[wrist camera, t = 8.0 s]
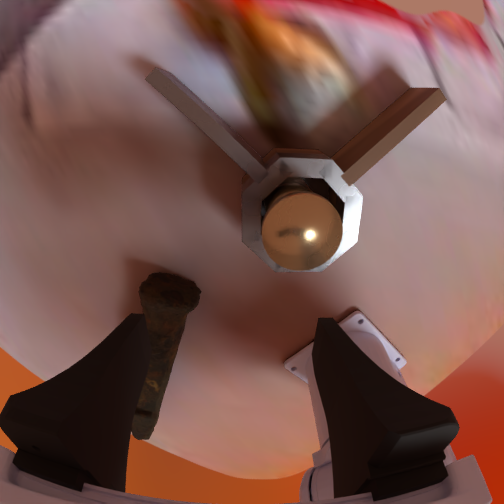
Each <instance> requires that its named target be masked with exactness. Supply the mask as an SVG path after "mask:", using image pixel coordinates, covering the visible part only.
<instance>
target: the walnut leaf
mask: <svg viewBox="0 0 504 504" xmlns="http://www.w3.org/2000/svg"><path fill="white" fill-rule="evenodd" d="M446 100H447V99H446V98H445V96H444V95H443V93H442V91H441V90H440V88H410V89H409V90H408V91H407V92H405V93H404V94H403V95H402V96H401V97H400V98H398V99H397V100H396V101H395V102H394V103H393V104H392V105H390V106H389V107H388V108H387V109H386V110H385V111H384V112H382V113H381V114H380V115H379V116H378V117H377V118H375V119H374V120H373V121H372V122H371V123H370V124H369V125H368V126H366V127H365V128H364V129H363V130H362V131H361V132H360V133H358V134H357V135H356V136H355V137H354V138H353V139H352V140H350V141H349V142H348V143H347V144H346V145H345V146H344V147H343V148H341V149H340V150H339V151H338V152H337V153H336V154H335V155H334V156H332V157H331V159H332V160H333V161H334V162H335V163H336V164H337V166H338V167H339V168H340V169H341V170H342V171H343V174H342V175H341V178H342V179H343V180H344V181H345V182H346V183H347V185H348V186H349V187H350V186H351V185H352V184H353V183H355V182H356V181H357V180H358V179H359V178H360V177H361V176H362V175H364V174H365V173H366V172H367V171H368V170H369V169H370V168H371V167H373V166H374V165H375V164H376V163H377V162H378V161H379V160H380V159H382V158H383V157H384V156H385V155H386V154H387V153H388V152H389V151H390V150H392V149H393V148H394V147H395V146H396V145H397V144H398V143H399V142H400V141H402V140H403V139H404V138H405V137H406V136H407V135H408V134H409V133H410V132H412V131H413V130H414V129H415V128H416V127H417V126H418V125H419V124H420V123H421V122H423V121H424V120H425V119H426V118H427V117H428V116H429V115H430V114H431V113H432V112H434V111H435V110H436V109H437V108H438V107H439V106H440V105H441V104H442V103H443V102H444V101H446ZM277 152H284V153H310V154H323V153H322V152H321V151H319V150H314V149H291V148H274V149H272V150H271V151H270V152H269V153H268V154H267V155H266V156H265V157H264V158H263V161H264V164H265V163H266V162H267V161H268V160H269V159H270V158H271V157H272V156H273V155H274V154H276V153H277ZM249 178H250V176H249V175H248V174H246V175H245V176H244V177H243V178H242V185H243V184H244V183H245V182H246V181H247V180H248V179H249ZM322 179H323V178H322ZM323 180H324V179H323ZM324 181H325V180H324ZM325 182H326V181H325ZM326 183H327V182H326ZM336 195H337V194H336V193H335V192H334V190H333V189H332V188H331V187H330V186H329V196H328V201H329V202H330V203H331V204H332V205H333V207H334V208H335V205H336ZM262 221H263V217H262V216H261V225H262Z"/></svg>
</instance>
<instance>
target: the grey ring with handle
mask: <svg viewBox="0 0 504 504" xmlns="http://www.w3.org/2000/svg"><path fill="white" fill-rule="evenodd" d="M145 80H146V81H147V82H148V83H150V84H151V85H152V86H153V87H154V88H155V89H157V90H158V91H159V92H160V93H161V94H162V95H163V96H164V97H166V98H167V99H168V100H169V101H170V102H171V103H172V104H173V105H175V106H176V107H177V108H178V109H179V110H180V111H181V112H182V113H183V114H185V115H186V116H187V117H188V118H189V119H190V120H191V121H192V122H193V123H194V124H196V125H197V126H198V127H199V128H200V129H201V130H202V131H203V132H204V133H205V134H206V135H207V136H208V137H210V138H211V139H212V140H213V141H214V142H215V143H216V144H217V145H218V146H219V147H220V148H221V149H222V150H223V151H224V152H226V153H227V154H228V155H229V156H230V157H231V158H232V159H233V160H234V161H235V162H236V163H237V164H238V165H239V166H240V167H241V168H242V169H243V170H244V171H245V172H246V173H247V174H248V175H249V176H250V178H249V179H248V180H247V181H246V182H245V183H244V184H243V185H242V242H243V243H244V244H245V245H246V246H247V247H248V248H250V249H251V250H252V251H253V252H254V253H255V254H256V255H257V256H258V257H259V258H261V259H262V260H263V261H264V262H265V263H266V264H267V265H268V266H269V267H270V268H272V269H273V270H274V271H275V272H322V271H323V270H324V269H325V268H326V267H328V266H329V265H330V264H331V263H332V262H334V261H335V260H336V259H337V258H338V257H340V256H341V255H342V254H343V253H344V252H346V251H347V250H348V249H349V248H350V247H351V246H353V245H354V244H355V243H356V242H357V238H358V231H359V224H360V217H361V209H362V201H363V196H362V195H361V193H360V192H359V191H358V190H357V188H356V187H355V186H354V185H353V184H352V185H351V186H350V187H349V186H348V185H347V183H346V182H345V181H344V180H343V179H342V178H341V175H342V174H343V171H342V170H341V169H340V168H339V167H338V166H337V164H336V163H335V162H334V161H333V160H332V159H331V158H329V157H328V156H326V155H325V154H310V153H284V152H277V153H276V154H274V155H273V156H272V157H271V158H270V159H269V160H268V161H267V162H266V163H265V164H264V161H263V158H262V157H261V156H260V155H259V154H258V153H257V152H256V151H255V150H254V149H253V148H252V147H251V146H250V145H249V144H247V143H246V142H245V141H244V140H243V139H242V138H241V137H240V136H239V135H238V134H237V133H236V132H235V131H234V130H233V129H232V128H231V127H230V126H229V125H228V124H227V123H226V122H225V121H223V120H222V119H221V118H220V117H219V116H218V115H217V114H216V113H215V112H214V111H213V110H212V109H211V108H210V107H208V106H207V105H206V104H205V103H204V102H203V101H202V100H201V99H200V98H199V97H197V96H196V95H195V94H194V93H193V92H192V91H191V90H190V89H189V88H187V87H186V86H185V85H184V84H183V83H182V82H181V81H179V80H178V79H177V78H176V77H175V76H174V75H173V74H171V73H169V72H167V71H164V70H161V69H159V68H156V67H155V69H154V70H153V71H152V72H151V73H150V74H149V75H148V76H147V77H146V78H145ZM287 177H306V178H323V179H324V180H325V181H326V182H327V184H328V185H329V186H330V187H331V188H332V189H333V190H334V192H335V193H336V194H337V195H336V205H335V209H336V210H337V212H338V214H339V215H340V218H341V221H342V226H343V235H342V240H341V243H340V246H339V248H338V249H337V251H336V253H335V254H334V255H333V256H332V257H331V258H330V259H329V260H328V261H327V262H325V263H324V264H322V265H321V266H319V267H316V268H314V269H310V270H304V271H295V270H290V269H286V268H284V267H282V266H280V265H278V264H277V263H275V262H274V261H273V260H272V259H271V258H270V257H269V255H268V254H267V252H266V250H265V248H264V245H263V241H262V233H261V228H262V225H261V201H262V200H263V199H264V198H265V197H266V196H268V195H269V194H270V193H271V192H272V191H273V190H274V189H275V188H276V187H277V186H278V185H279V184H281V183H282V182H283V181H284V180H285V179H286V178H287Z"/></svg>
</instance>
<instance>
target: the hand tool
mask: <svg viewBox="0 0 504 504" xmlns="http://www.w3.org/2000/svg"><path fill="white" fill-rule="evenodd" d="M138 292H139V295H140V299H141V305H142V307H143V314H145V319H146V324H147V329H148V334H149V339H150V344H151V348H152V352H151V358H150V363H149V368H148V372H147V376H146V379H145V382H144V385H143V388H142V391H141V394H140V397H139V401H138V404H137V407H136V410H135V414H134V418H133V423H132V428H131V432H132V435H133V436H134V437H135V438H136V439H138V440H142V439H143V440H146V439H148V440H149V438H150V436H151V434H152V432H153V431H154V427H155V425H156V423H157V421H158V417H159V412H160V407H161V403H162V400H163V396H164V393H165V390H166V387H167V384H168V381H169V377H170V374H171V371H172V366H173V363H174V360H175V357H176V354H177V351H178V346H179V343H180V340H181V337H182V334H183V331H184V327H185V322H186V317H187V314H188V313H189V312H191V311H192V310H194V308H195V307H196V306H197V305H198V303H199V299H200V293H201V290H200V289H199V288H198V287H197V286H196V284H195V283H194V282H192V281H190V280H186V279H183V278H181V277H179V276H176V275H172V274H168V273H160V272H159V273H152V274H151V275H149V277H148V279H147V280H146V281H144V282H143V283H142V284H141V286H140V287H139V291H138Z"/></svg>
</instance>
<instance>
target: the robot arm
mask: <svg viewBox="0 0 504 504" xmlns="http://www.w3.org/2000/svg"><path fill="white" fill-rule="evenodd" d="M360 319H362V320H361V321H359V320H360ZM151 352H152V348H151V344H150V339H149V334H148V329H147V324H146V319H145V314H133V313H131V314H130V315H129V316H128V317H127V318H126V319H125V320H124V321H123V322H122V323H121V324H120V325H119V326H118V327H117V328H116V329H115V330H114V331H113V332H112V333H111V334H109V335H108V336H107V337H106V338H105V339H104V340H103V341H102V342H101V343H100V344H99V345H98V346H96V347H95V348H94V349H93V350H92V351H91V352H90V353H88V354H87V355H86V356H85V357H83V358H82V359H81V360H80V361H78V362H77V363H75V364H74V365H73V366H71V367H70V368H68V369H67V370H65V371H63V372H62V373H60V374H58V375H57V376H55V377H53V378H51V379H50V380H48V381H46V382H44V383H42V384H39V385H38V386H35V387H33V388H30V389H28V390H25V391H22V392H20V393H17V394H14V395H11V396H10V397H9V399H8V401H7V403H6V404H5V406H4V408H3V410H2V412H1V414H0V427H1V429H2V430H3V431H4V433H5V434H6V435H7V436H8V437H9V439H10V440H11V441H12V442H13V443H14V444H15V445H16V447H17V448H18V450H17V452H16V454H15V453H14V452H12V451H11V450H9V449H7V448H5V447H2V446H0V504H206V503H193V502H183V501H174V500H166V499H159V498H152V497H146V496H140V495H135V494H129V493H125V485H126V484H125V483H126V467H127V457H128V449H129V441H130V434H131V428H132V423H133V418H134V414H135V410H136V407H137V404H138V401H139V397H140V394H141V391H142V388H143V385H144V382H145V379H146V376H147V372H148V368H149V363H150V358H151ZM406 362H407V361H406V359H405V358H404V357H403V356H402V355H401V353H400V352H399V351H398V350H397V349H396V348H395V347H394V346H393V345H392V344H391V343H390V342H389V341H388V340H387V339H386V337H385V336H384V335H383V334H382V333H381V332H380V331H379V330H378V329H377V328H376V327H375V326H374V325H373V324H372V323H371V322H370V321H369V320H368V319H367V317H366V316H365V315H364V314H363V313H362V312H360V311H355V312H353V313H352V314H350V315H349V316H348V317H346V318H345V319H344V320H342V321H341V322H340V323H337V322H336V321H335V320H334V319H333V318H318V324H317V329H316V334H315V339H314V342H312V343H311V344H309V345H308V346H307V347H305V348H304V349H302V350H301V351H299V352H298V353H296V354H295V355H293V356H292V357H291V358H289V359H288V360H286V361H285V362H284V367H285V369H287V370H288V371H290V372H291V373H293V374H294V375H296V376H297V377H299V378H300V379H302V380H303V381H305V382H306V383H308V385H309V390H310V395H311V400H312V406H313V411H314V416H315V421H316V427H317V432H318V437H319V443H320V448H321V450H319V451H317V452H315V453H313V454H312V456H313V462H314V467H311V468H310V469H308V470H307V471H306V472H305V474H304V476H303V478H302V482H301V486H300V493H299V497H300V502H299V503H286V504H490V503H491V502H492V498H491V495H490V493H489V490H488V488H487V485H486V483H485V480H484V478H483V475H482V473H481V471H480V468H479V466H478V464H477V462H476V459H475V457H474V455H470V456H468V457H465V458H463V459H460V460H456V458H455V455H454V453H453V451H452V448H451V446H450V442H451V441H452V440H453V439H454V438H455V436H456V435H457V433H458V431H459V424H458V422H457V420H456V418H455V416H454V414H453V412H452V410H451V409H450V408H449V407H447V406H445V405H442V404H440V403H437V402H435V401H432V400H430V399H428V398H426V397H424V396H422V395H420V394H418V393H416V392H415V391H413V390H411V389H410V388H408V387H407V385H406V383H405V381H404V378H403V376H402V374H401V372H400V370H399V369H400V368H402V367H403V366H404V365H405V364H406ZM292 367H293V368H292Z"/></svg>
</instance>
